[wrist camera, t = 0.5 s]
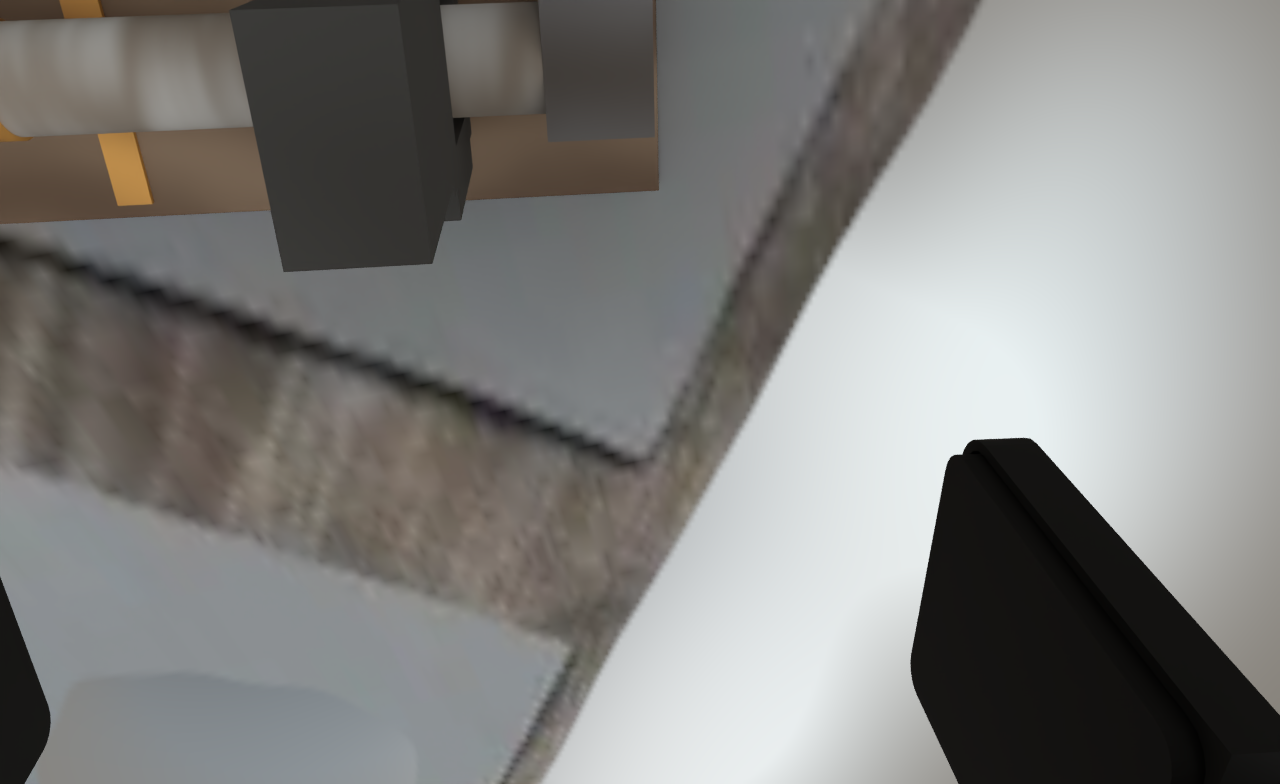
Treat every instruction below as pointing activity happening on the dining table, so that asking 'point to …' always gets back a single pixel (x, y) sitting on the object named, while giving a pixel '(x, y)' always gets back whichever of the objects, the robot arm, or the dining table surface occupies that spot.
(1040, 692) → the robot arm
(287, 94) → the collar
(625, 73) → the pipe rig
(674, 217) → the dining table surface
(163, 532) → the dining table surface
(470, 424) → the dining table surface
